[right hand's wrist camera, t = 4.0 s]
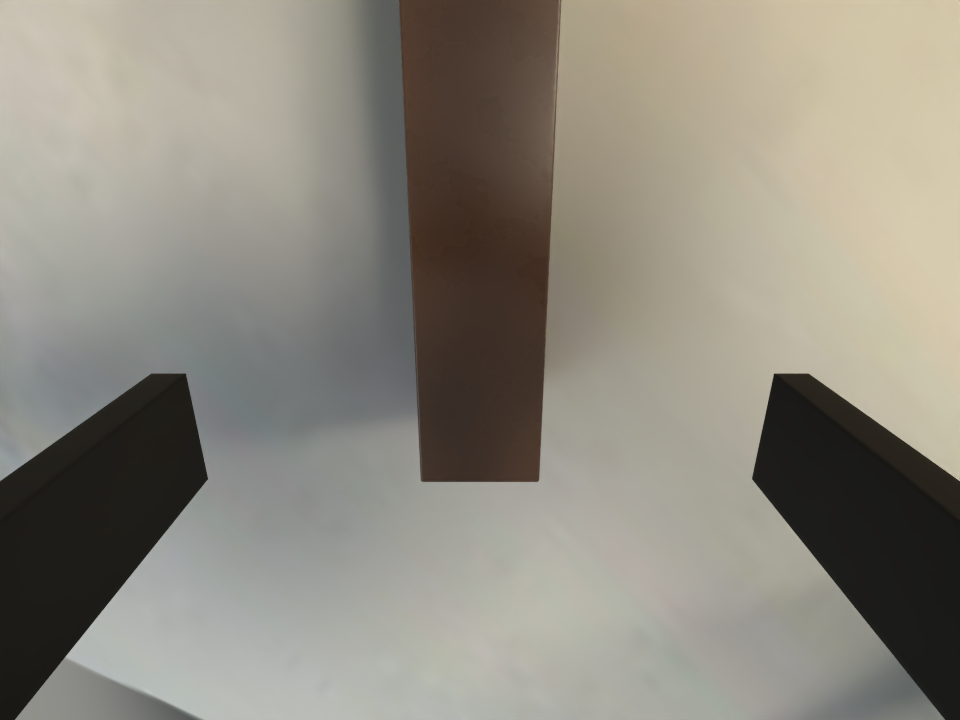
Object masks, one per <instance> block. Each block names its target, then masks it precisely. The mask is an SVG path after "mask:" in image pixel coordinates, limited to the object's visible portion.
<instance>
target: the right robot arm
mask: <svg viewBox="0 0 960 720" xmlns="http://www.w3.org/2000/svg"><path fill="white" fill-rule="evenodd" d="M207 480H208V477H207V472H206V467H205V463H204V458H203V453H202V448H201V444H200V439H199V434H198V429H197V425H196V420H195V415H194V410H193V406H192V401H191V396H190V391H189V387H188V382H187V377H186V374H150V375H149V376H148V377H146V378H145V379H143V380H142V381H140V382H139V383H138V384H136V385H135V386H133V387H132V388H131V389H129V390H128V391H126V392H125V393H124V394H122V395H121V396H119V397H118V398H117V399H115V400H114V401H112V402H111V403H110V404H108V405H107V406H105V407H104V408H103V409H101V410H100V411H98V412H97V413H96V414H94V415H93V416H91V417H90V418H88V419H87V420H86V421H84V422H83V423H81V424H80V425H79V426H77V427H76V428H74V429H73V430H72V431H70V432H69V433H67V434H66V435H65V436H63V437H62V438H60V439H59V440H58V441H56V442H55V443H53V444H52V445H51V446H49V447H48V448H46V449H45V450H44V451H42V452H41V453H39V454H38V455H36V456H35V457H34V458H32V459H31V460H29V461H28V462H27V463H25V464H24V465H22V466H21V467H20V468H18V469H17V470H15V471H14V472H13V473H11V474H10V475H8V476H7V477H6V478H4V479H3V480H1V481H0V720H15V719H16V718H17V716H18V715H19V714H20V713H21V711H22V710H23V709H24V708H25V706H26V705H27V704H28V703H29V701H30V700H31V699H32V698H33V696H34V695H35V694H36V693H37V691H38V690H39V689H40V688H41V686H42V685H43V684H44V683H45V681H46V680H47V679H48V678H49V676H50V675H51V674H52V673H53V671H54V670H55V669H56V668H57V666H58V665H59V664H60V663H61V661H62V660H63V659H64V658H65V656H66V655H67V654H68V653H69V652H70V650H71V649H72V648H73V647H74V645H75V644H76V643H77V642H78V640H79V639H80V638H81V637H82V635H83V634H84V633H85V632H86V630H87V629H88V628H89V627H90V625H91V624H92V623H93V622H94V620H95V619H96V618H97V617H98V615H99V614H100V613H101V612H102V610H103V609H104V608H105V607H106V605H107V604H108V603H109V602H110V600H111V599H112V598H113V597H114V595H115V594H116V593H117V592H118V590H119V589H120V588H121V587H122V585H123V584H124V583H125V582H126V580H127V579H128V578H129V577H130V575H131V574H132V573H133V572H134V571H135V569H136V568H137V567H138V566H139V564H140V563H141V562H142V561H143V559H144V558H145V557H146V556H147V554H148V553H149V552H150V551H151V549H152V548H153V547H154V546H155V544H156V543H157V542H158V541H159V539H160V538H161V537H162V536H163V534H164V533H165V532H166V531H167V529H168V528H169V527H170V526H171V524H172V523H173V522H174V521H175V519H176V518H177V517H178V516H179V514H180V513H181V512H182V511H183V509H184V508H185V507H186V506H187V504H188V503H189V502H190V501H191V499H192V498H193V497H194V496H195V494H196V493H197V492H198V491H199V489H200V488H201V487H202V486H203V485H204V483H205V482H206V481H207ZM752 480H753V481H754V482H755V483H756V485H757V486H758V487H759V488H760V489H761V491H762V492H763V493H764V494H765V496H766V497H767V498H768V499H769V501H770V502H771V503H772V504H773V506H774V507H775V508H776V509H777V511H778V512H779V513H780V514H781V516H782V517H783V518H784V519H785V521H786V522H787V523H788V524H789V526H790V527H791V528H792V529H793V531H794V532H795V533H796V534H797V536H798V537H799V538H800V539H801V541H802V542H803V543H804V544H805V546H806V547H807V548H808V549H809V551H810V552H811V553H812V554H813V556H814V557H815V558H816V559H817V561H818V562H819V563H820V564H821V566H822V567H823V568H824V569H825V571H826V572H827V573H828V574H829V575H830V577H831V578H832V579H833V580H834V582H835V583H836V584H837V585H838V587H839V588H840V589H841V590H842V592H843V593H844V594H845V595H846V597H847V598H848V599H849V600H850V602H851V603H852V604H853V605H854V607H855V608H856V609H857V610H858V612H859V613H860V614H861V615H862V617H863V618H864V619H865V620H866V622H867V623H868V624H869V625H870V627H871V628H872V629H873V630H874V632H875V633H876V634H877V635H878V637H879V638H880V639H881V640H882V642H883V643H884V644H885V645H886V647H887V648H888V649H889V650H890V652H891V653H892V654H893V655H894V656H895V658H896V659H897V660H898V661H899V663H900V664H901V665H902V666H903V668H904V669H905V670H906V671H907V673H908V674H909V675H910V676H911V678H912V679H913V680H914V681H915V683H916V684H917V685H918V686H919V688H920V689H921V690H922V691H923V693H924V694H925V695H926V696H927V698H928V699H929V700H930V701H931V703H932V704H933V705H934V706H935V708H936V709H937V710H938V711H939V713H940V714H941V715H942V716H943V718H944V719H945V720H960V481H959V480H957V479H956V478H954V477H953V476H952V475H950V474H949V473H947V472H946V471H945V470H943V469H942V468H940V467H939V466H938V465H936V464H935V463H933V462H932V461H931V460H929V459H928V458H926V457H925V456H924V455H922V454H921V453H919V452H918V451H916V450H915V449H914V448H912V447H911V446H909V445H908V444H907V443H905V442H904V441H902V440H901V439H900V438H898V437H897V436H895V435H894V434H893V433H891V432H890V431H888V430H887V429H886V428H884V427H883V426H881V425H880V424H879V423H877V422H876V421H874V420H873V419H872V418H870V417H869V416H867V415H866V414H864V413H863V412H862V411H860V410H859V409H857V408H856V407H855V406H853V405H852V404H850V403H849V402H848V401H846V400H845V399H843V398H842V397H841V396H839V395H838V394H836V393H835V392H834V391H832V390H831V389H829V388H828V387H827V386H825V385H824V384H822V383H821V382H820V381H818V380H817V379H815V378H814V377H812V376H811V375H810V374H774V377H773V382H772V387H771V391H770V396H769V401H768V406H767V410H766V415H765V420H764V425H763V429H762V434H761V439H760V444H759V448H758V453H757V458H756V463H755V467H754V472H753V477H752Z"/></svg>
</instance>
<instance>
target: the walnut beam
mask: <svg viewBox="0 0 960 720" xmlns="http://www.w3.org/2000/svg"><path fill="white" fill-rule="evenodd" d="M399 13H400V35H401V57H402V79H403V101H404V123H405V145H406V166H407V188H408V210H409V232H410V254H411V276H412V297H413V319H414V341H415V363H416V385H417V407H418V429H419V450H420V472H421V481H422V482H538V481H539V472H540V450H541V429H542V407H543V385H544V363H545V341H546V319H547V297H548V276H549V254H550V232H551V210H552V188H553V166H554V145H555V123H556V101H557V79H558V57H559V35H560V13H561V0H399Z"/></svg>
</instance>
